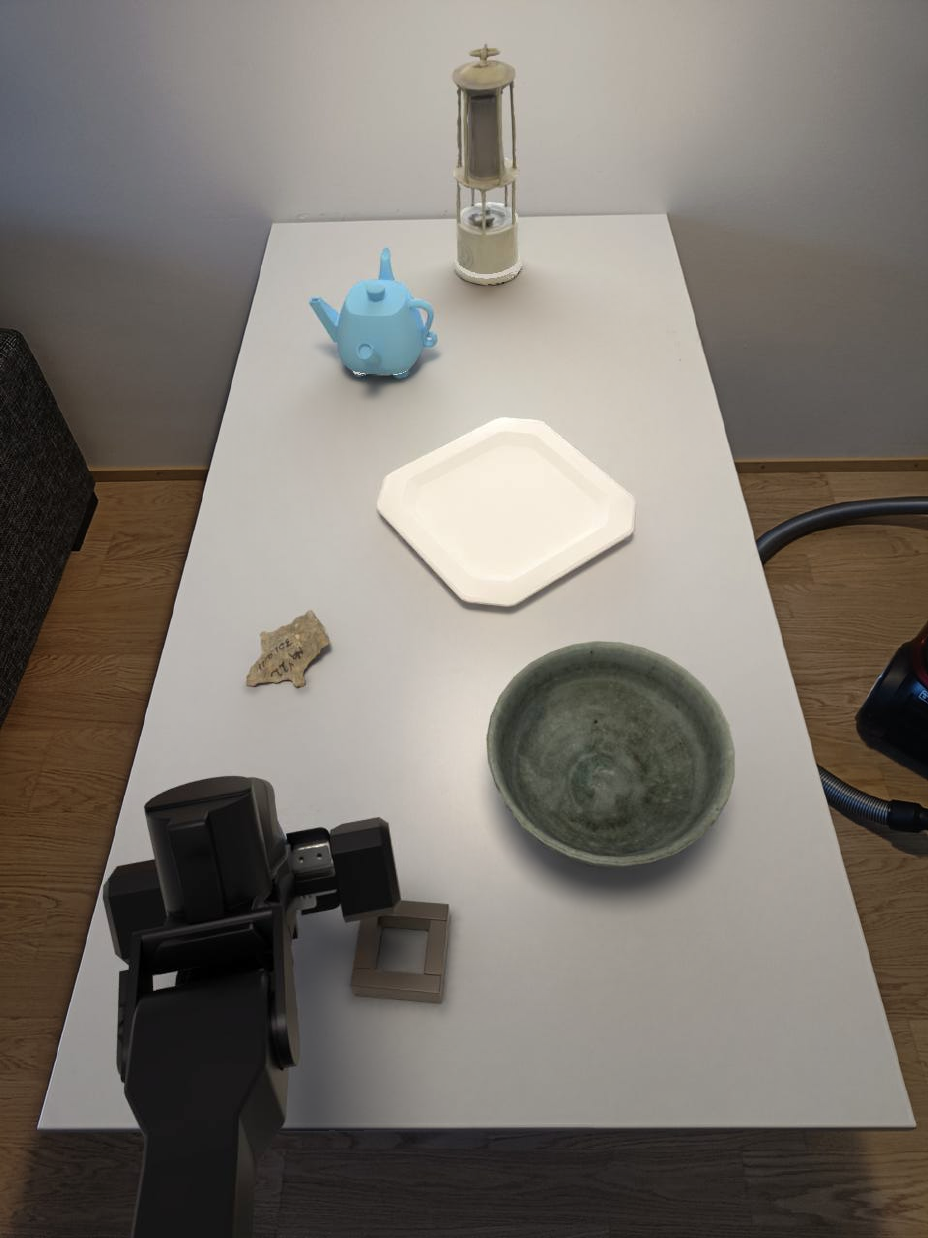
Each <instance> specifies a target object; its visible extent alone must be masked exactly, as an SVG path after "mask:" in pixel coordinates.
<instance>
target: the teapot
mask: <svg viewBox="0 0 928 1238" xmlns="http://www.w3.org/2000/svg"><path fill="white" fill-rule="evenodd" d="M391 259H392V258H391V250H390V249H389V248H388V247H384V248H383V249H382V251H381V253H380V263H379V273H378V279H363V280H359V281H358V282H356V283H355V284H354V285H352V287H351V288H350V289H349V291H348V292H347V294H346V296H345V299H344V301H343V304H342V306H341V309H340V313H339V312H338V311H337V310H335V309H334V307H332V306H331V305H330V304H328V303H327V302H326V301H325V300H324V299H322V297H321V296H319V297H318V296H317V297H313V296H312V297H310V299H309V301H308V304H309V306H310V307H311V309H312V311H313V312H314V314H315V315H316V317H317V319H318V320H319V321H320V323H321V324H322V326H323V327H324V329H325V331H326V332H327V334H328V336H329V337H330V339H331V340H332V341H333V343H336V346H337V353H338V356H339V358H340V360H341V362H342V363H343V364H344V365H345V366H346V367H347V369H349V370H350V369H351V370H350V371H352V370H353V371H355V372H360V373H365V374H367V373H368V374H378V375H377V376H389V375H388V374H398V375H392V376H393V378H395V379H398V380H399V379H400V380H401V379H405V378H407V377H408V376H409V374H410V371H409V370H410V369H411V368H412V367H413V366H414V364H415V363H416V362H417V360H418V359H419V357H420V355H421V354H422V352H423V350H424V347H425V348H432V347H435V346H436V345H437V344H438V335H437V334H436V333H435V332H434V331H430V330H431V328H432V325H433V321H434V317H435V314H434V312H435V311H434V307H433V306H432V305H431V303H430V302H428V301H426V300H424V299H422V298H415V297H414V296H413V294H412V292H411V291H410V290H409V288H408V287H407V286H406V285H405V283H403V282H402V281H398V280H395V276H394V273H393V269H392V262H391ZM420 309H422V310H424V311H425V312H426V313H427V316H426V317H427V318H426V321H425V324H424V320H423V318H422V314H421V310H420ZM412 365H413V366H412ZM409 368H410V369H409ZM408 369H409V370H408ZM407 370H408V371H407ZM353 371H352V372H353ZM405 371H406V372H405ZM403 372H404V373H403ZM360 373H359V374H360ZM399 373H402V374H399ZM365 374H361V375H358V374H356V375H357V376H356V377H357V378H361V376H362V375H365ZM380 374H382V375H380ZM365 376H366V375H365Z"/></svg>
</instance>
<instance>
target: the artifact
mask: <svg viewBox="0 0 928 1238" xmlns="http://www.w3.org/2000/svg"><path fill="white" fill-rule="evenodd" d="M259 636H260V650H261V653H260V656H259V658H258V659H257V660H256V662H255V663H254V664H253V665H252V666H251V667H250V668H249V671H248V674H247V675H246V677H245V678H246V679H245V680H246V681H245V682H246V683H245V684H246V686H249V687H255V686H256V685H258V684H265V683H275V684H279V683H280V682H282V681H286V680H290V681H291V683H292V684H293V685H294V686H295V687H296V688H301V687H304V686H305V685H306V678H305V676H304V673H305V670H306V669H307V668H308V666H309V664H310V663H311V662H312V661H313V660H314V659H316V658H317V656H318V655H319V654H320V653H321V650H322V649H324V648H326V646H329V645H330V644H331V642H330V637H329V636H328V632H327V631H326V628H325V625H324V624H323V623H322V622H321V620H319V618H318V617H317V615H316V614H315V613H314V611H313V610H312V609H308V610H307V612H305V614H303V615H300V616H297V617H295V618H294V619H293V621H292V622H291V623H288V624H286V625H282V626H280V627H279V628H277V629H275V630H274V631H271V632H270V631H269V632H268V631H266V630H265V631H261V632H260V634H259Z"/></svg>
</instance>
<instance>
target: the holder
mask: <svg viewBox="0 0 928 1238" xmlns="http://www.w3.org/2000/svg"><path fill="white" fill-rule="evenodd" d="M449 905H450V904H449V903H440V902H439V903H438V902H428V901H427V902H426V901H415V900H404V899H401V904H400V906H399V907H398V909H397V911H396V912H395V913H394V914H389V915H384V916H379V917H373V918H368V919H363V920H359V921H360V922H359V927H358V934H357V939H356V946H355V952H354V959H353V965H352V971H351V977H350V984H349V986H350V987H351V990H352V992H353V995H354V996H359V997H369V998H379V999H390V1000H401V1001H411V1002H412V1001H413V1002H422V1003H423V1002H424V1003H435V1004H442V1000H443V991H444V980H445V969H446V961H447V951H448V941H449V931H450V922H451V913H450V906H449ZM383 927H385V928H398V929H407V930H408V929H409V930H419V931H420V930H421V931H428V935H427V943H426V952H425V954H426V955H425V960H424V968H423V973H420V972H419V973H417V972H407V971H396V970H386V969H385V970H384V969H377V962H378V955H379V949H380V943H381V936H382V929H383Z"/></svg>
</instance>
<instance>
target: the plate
mask: <svg viewBox="0 0 928 1238" xmlns="http://www.w3.org/2000/svg"><path fill="white" fill-rule="evenodd" d="M381 483H382V484H381V487H380V491H379V494H378V497H377V501H376V503H375V506H376V511H377V512H378V513H379V514H380V515H381V516H382V517H383V518H384V519H385V520H386V522H387V523H388V524H389V525H390V526H391V527H392V528H393V529H394V530H395V531H396V532H397V533H398V535H400V537H402V538H403V540H404V541H405V542H406V543H407V544H408V545H409V546H410V547H411V548H412V549H413V550H414V551H415V552H416V553H417V554H418V556H419V557H421V558H422V560H423V561H424V562H425V563H426V564H427V565H428V566H429V568H430V569H432V570H433V572H434V573H435V574H436V575H437V576H438V577H439V578H440V579H441V580H442V582H444V583H445V585H447V586H448V587H449V589H450V590H451V591H453V593H454V594H455V595H456V596H457V597H458V598H459V599H460V600H462V601H464V602H466V603H468V604H469V603H471V604H480V605H488V606H489V605H490V606H497V607H509V608H510V607H513V606H517V605H518V604H520V603H522V602H523V601H525V600H526V599H528V598H530V597H531V596H533V595H535V594H537V593H538V592H539V591H541V590H542V589H544V588H546V587H548V586H549V585H551V584H553V583H554V582H556V581H557V580H560V579H561V578H563V577H564V576H566V575H567V574H570V573H571V572H572V571H574V570H576V569H577V568H579V567H581V566H583V565H585V564H586V563H588V562H590V560H592V559H594V558H596V557H597V556H599V555H601V554H602V553H604V552H606V551H607V550H609V549H610V548H612V547H614V546H616V545H617V544H618V543H620V542H622V541H623V540H625V539H627V538H628V537H631V536H632V534H633V533H634V531H635V524H636V523H635V521H636V506H637V504H636V503H637V501H636V499H635V497H634V495H632V494H631V493H630V492H629V491H628V490H626V489H625V488H624V487H622V486H621V485H620V484H619V483H617V481H615V480H614V479H613V478H612V477H611V476H609V475H608V474H607V473H606V472H604V471H603V470H602V469H601V468H600V467H598V466H597V465H596V464H595V463H593V462H592V461H591V460H590V459H588V458H587V457H586V456H585V455H584V454H583V453H581V452H580V451H579V450H578V449H576V448H575V447H574V446H573V445H572V444H571V443H570V442H568V441H567V440H566V439H565V438H563V437H562V436H561V435H560V434H558V433H557V432H556V431H555V430H554V429H552V427H550V426H549V425H547V424H546V422H544V421H542V420H539V419H529V418H518V417H516V418H515V417H505V416H503V417H497V418H495V419H493V420H491V421H488V422H487V423H486V424H483V425H481V426H479V427H477V428H475V429H473V430H472V431H469V432H467V433H466V434H464V435H462V436H460V437H458V438H456V439H454V440H452V441H449V442H448V443H446V444H444V445H442V446H440V447H438V448H436V449H434V450H432V451H430V452H429V453H426V454H424V455H423V456H421V457H418V458H416V459H414V460H412V461H411V462H409V463H407V464H405V465H403V466H401V467H399V468H397V469H395V470H393V471H391V472H389V473H387V475H385V476H384V478H383V480H382V482H381Z"/></svg>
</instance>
